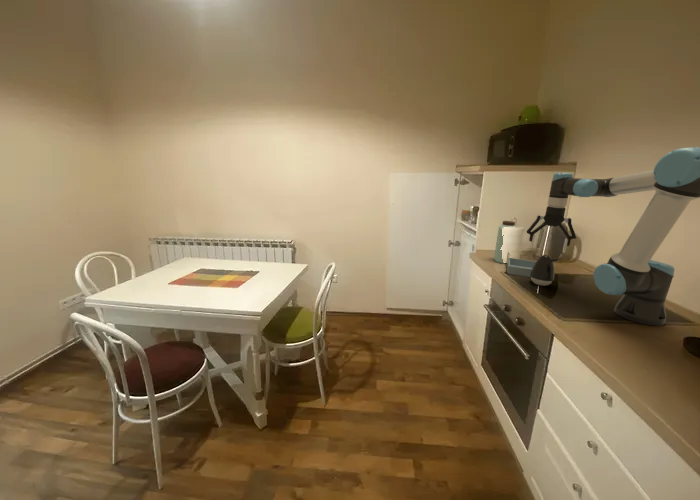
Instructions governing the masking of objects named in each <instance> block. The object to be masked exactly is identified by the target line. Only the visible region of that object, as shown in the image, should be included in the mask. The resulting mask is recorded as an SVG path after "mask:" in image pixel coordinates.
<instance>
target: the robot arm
mask: <svg viewBox="0 0 700 500" xmlns="http://www.w3.org/2000/svg"><path fill="white" fill-rule="evenodd" d="M551 179H552V180H551V184H550V188H549V189H550V191H549V195H548V200H547V205H548V206H547V207H546V209H545V214H544V216H543V215H540V214H538V215H537V216H536V219H535V220H534V222H532V224H531V225H530V226H529V227H528V228H527V230H526V233H527V234H528V235H529V242H530V247H529V248H530V249H534V248H533V247H534V242H535V238H536V236H535V234H537V233H538V232H539V231H541V230H542V229H544V228H545V227H546V226H548V227H559V228H560V229H561V232H563V234H564V235H565V236H566V237H567V238H566V237H565V239H564V242H563V246H562V253H563V254H565V253H566V249H567V247H569V246H570V244H571V240H573V239H577V237H576V233H575V230H574V228H573V225H572V218H571V217H566V218H565V213H566V208H565V207H567V203H568V199H569V196H572V197H579V198H590V197H600V198H601V197H603V198H611V197H612V198H613V197H617V196H618V195H626V194H627V195H628V194H633V193H642V192H650V191H655V193H654V195H653V196H652V198H651V199H650V201H649V203H648V205H647V206H646V208H645V209H644V211H643V213H642V214H641V216H640V218H639V220H638V221H637V223H636V224H635V226H634V227H633V229H632V231H631V233H630V234H629V236H628V238H627V239H626V241H625V243H624V244H623V246H622V247H621V249H620V251H619V252H617V253H613V254H612V255H611V256H610V257H609V259H608V261H607V263H605V262H604V263H602V264H599V265H597V266H596V267H595V268H594V271H593V281H594V283H595V285H596V288H597V289H599V291H601V292H602V293H604V294H606V295H611V296H612V295H614V296H622V297H621V298H620V299H619V300H618V301H617V302H616V304H615V305H614V309H613V312H614V313H615V314H617V316H619V317H622V318H623V319H625V320H629V321H631V322H634V323H638V324H642V325H647V326H653V327H654V326H655V327H656V326H664V325H665V323H666V321H667V312H666V306H665V302H666V299H667V296H668V293H669V290H670V287H671V283H672V281H673V278H674V275H675V274H674V273H675V267H674V266H673V265H671V264H668V263H665V262H662V261H661V262H660V261H658V260H653V259H652V258H653V256H654V255H655V254H656V252H657V250H659V248H660V246H661V245H662V243H663V242H664V241H665V239H666V238H667V236H668V235H669V233H670V231H671V230H672V229H673V228H674V226H675V224H676V223H677V222H678V220H679V218H680V217H681V216H682V214H683V213H684V211H685V210H686V208H687V207H688V206H689V204H690V202H691V201H694V200H697V199H700V147H697V146H690V147H681V148H677V149H676V148H675V149H674V150H672V151H669V152H667V153H666V154H664V155H663V156H662V157H661V158H660V159H659V160H658V161H657V162H656V164H655V165H654V168H653V169H652V170H646V171H645V170H644V171H640V172H636V173H630V174H625V175H621V176H615V177H614V176H613V177H610V178H578V177H577V178H575V177H574V174H573V173H571V172H555V173H553V177H552V178H551ZM542 220H543V221H544V222H542V223H541V224H540V225H539V226H537V224H538V223H539V222H540V221H542ZM563 222H565V223H566V224H567V226H568V229H569V231H570V234H571V235H570V234H569V233H568V231H567V230H566V228H565V227H564V226H563V224H562V223H563ZM536 226H537V227H536ZM535 227H536V228H535ZM534 228H535V229H534Z"/></svg>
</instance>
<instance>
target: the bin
mask: <svg viewBox="0 0 700 500" xmlns="http://www.w3.org/2000/svg"><path fill="white" fill-rule="evenodd" d="M536 261H537V260H529V259H523V258H522V259H521V258H513V257H512V258H508V263H507V264H506V270H507V271H506V274H508V275H512V276H519V277H524V278H525V277H526V278H531V276H530V274H531V271H532V268H533V266H534V264H535V262H536Z"/></svg>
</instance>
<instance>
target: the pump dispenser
mask: <svg viewBox="0 0 700 500" xmlns="http://www.w3.org/2000/svg"><path fill="white" fill-rule="evenodd" d="M559 260H560V259H559V258H552V257H551V256H550V255H547V254H542V255H540V256H539V257H538V259H536V260H535V261H536V262H535V264H534V266H533V268H532V271H531V274H530V276H531V277H530V279H531V282H532V283H533V284H535V285H537V286H541V287H545V286H549V285H551V284H552V282H553V281H554V280H555V264H554V263H555V262H558V261H559Z"/></svg>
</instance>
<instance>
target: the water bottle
mask: <svg viewBox="0 0 700 500" xmlns="http://www.w3.org/2000/svg"><path fill="white" fill-rule="evenodd" d="M503 227H516V228H517V226H516V222H515V221H511V220H503V221H502V224H501V225H500V226H498V229H497V236H496V242H495V243H496V245H495V249H494V255H493V260H494V261H495V262H496V263H499V264H504V263H503V259H502V250H500V249H501V247H502V245H503V236H504V235H503V236H502V228H503Z"/></svg>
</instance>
